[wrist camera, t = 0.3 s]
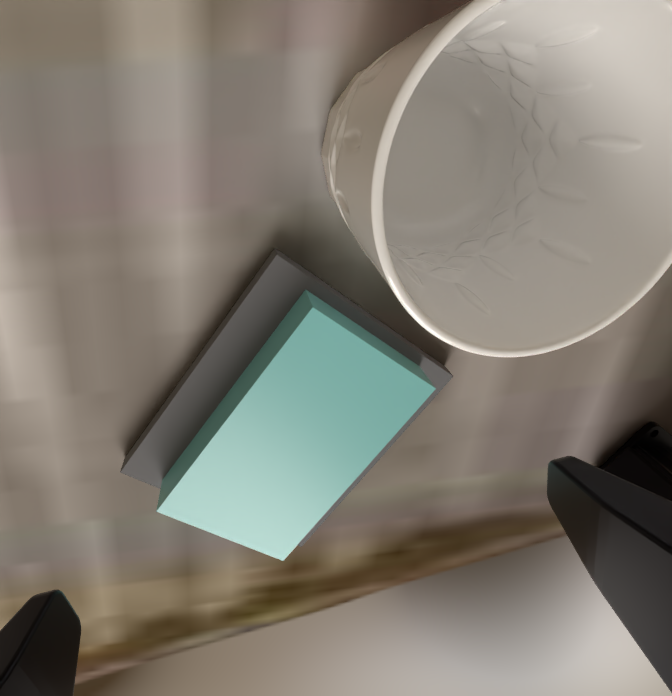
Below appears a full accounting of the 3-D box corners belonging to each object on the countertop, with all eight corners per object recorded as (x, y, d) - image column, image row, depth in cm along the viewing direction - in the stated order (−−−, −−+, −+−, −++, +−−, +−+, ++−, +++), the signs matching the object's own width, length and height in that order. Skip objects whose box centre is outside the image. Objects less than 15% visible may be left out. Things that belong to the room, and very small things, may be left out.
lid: (419, 366, 22) (436, 388, 21) (279, 528, 25) (282, 560, 23) (305, 289, 20) (312, 307, 18) (162, 479, 22) (156, 511, 21)
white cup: (307, 256, 20) (365, 370, 11) (303, 29, 17) (382, -57, 8) (485, 248, 22) (660, 346, 13) (515, 37, 18) (783, -29, 9)
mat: (445, 366, 24) (453, 376, 23) (299, 532, 27) (301, 546, 26) (275, 248, 20) (276, 254, 19) (124, 458, 23) (120, 472, 22)
